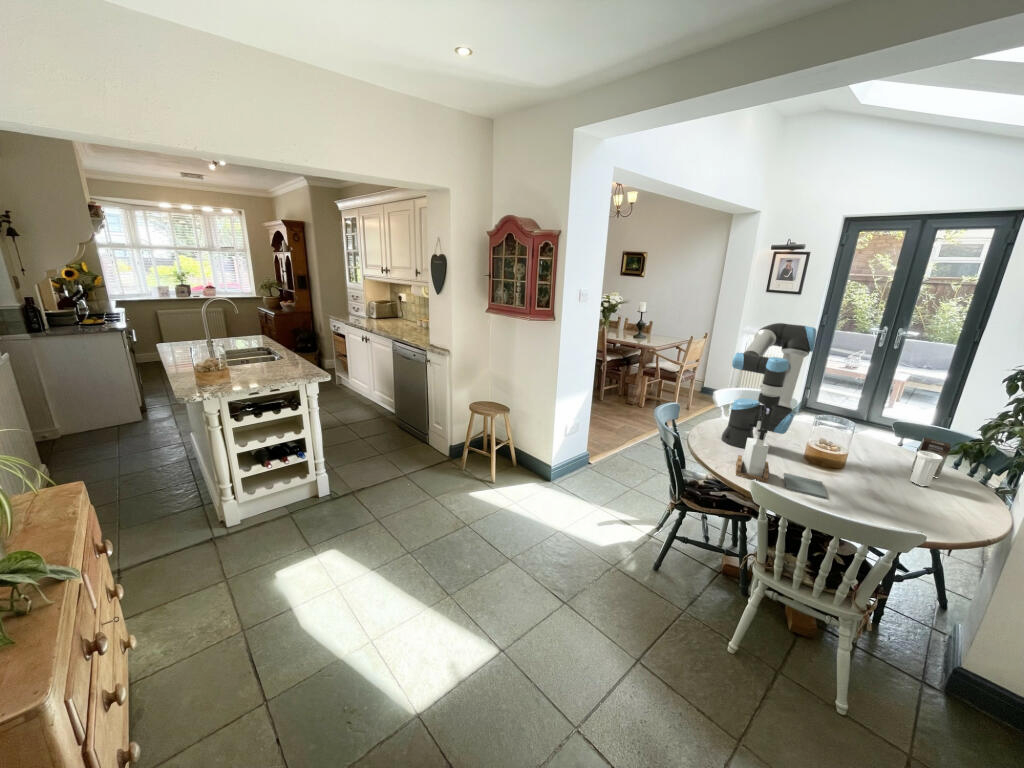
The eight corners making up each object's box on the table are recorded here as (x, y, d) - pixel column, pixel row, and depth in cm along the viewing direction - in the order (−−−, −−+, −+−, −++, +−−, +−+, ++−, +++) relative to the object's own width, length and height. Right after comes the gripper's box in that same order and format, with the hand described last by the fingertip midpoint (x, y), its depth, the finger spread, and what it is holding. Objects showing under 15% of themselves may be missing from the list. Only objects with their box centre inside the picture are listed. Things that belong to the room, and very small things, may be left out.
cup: (925, 481, 185) (936, 452, 181) (936, 490, 178) (947, 460, 174) (902, 477, 188) (913, 449, 183) (912, 486, 180) (924, 456, 176)
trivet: (783, 474, 185) (783, 472, 185) (821, 483, 179) (821, 481, 179) (785, 488, 173) (786, 486, 173) (826, 499, 167) (827, 496, 167)
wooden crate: (735, 464, 193) (738, 454, 191) (765, 471, 187) (768, 461, 186) (735, 475, 183) (737, 465, 181) (766, 483, 177) (769, 472, 176)
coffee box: (911, 471, 193) (923, 440, 189) (911, 467, 198) (922, 436, 193) (938, 479, 188) (951, 447, 183) (937, 474, 192) (950, 443, 187)
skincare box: (762, 479, 181) (770, 446, 176) (745, 476, 182) (753, 444, 177) (755, 469, 188) (763, 438, 184) (739, 467, 190) (747, 436, 185)
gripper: (758, 385, 186) (748, 429, 192) (760, 400, 165) (749, 448, 171) (778, 388, 183) (767, 433, 189) (782, 404, 162) (770, 453, 168)
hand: (758, 440), depth 180 cm, fingers open, 13 cm apart
